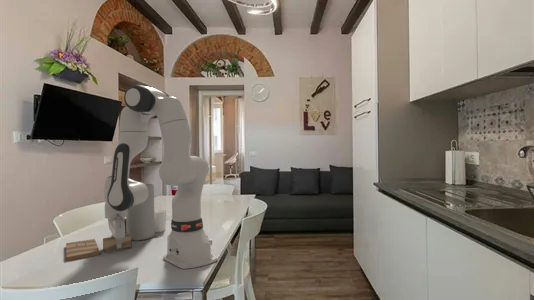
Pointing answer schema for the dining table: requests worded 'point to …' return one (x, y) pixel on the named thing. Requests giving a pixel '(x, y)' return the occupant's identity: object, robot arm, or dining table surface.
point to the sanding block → (110, 244)
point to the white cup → (160, 220)
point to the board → (81, 249)
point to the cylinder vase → (142, 218)
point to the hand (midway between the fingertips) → (117, 244)
